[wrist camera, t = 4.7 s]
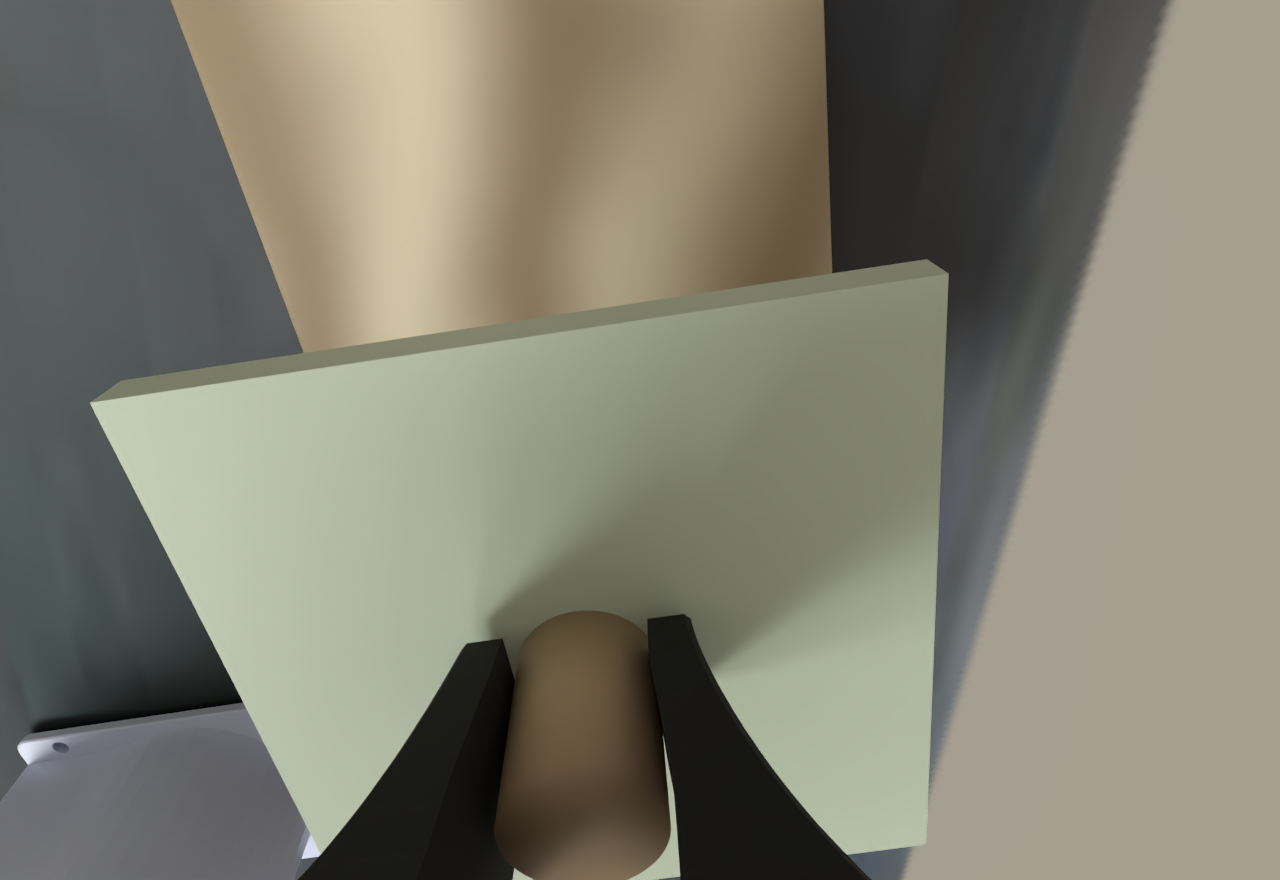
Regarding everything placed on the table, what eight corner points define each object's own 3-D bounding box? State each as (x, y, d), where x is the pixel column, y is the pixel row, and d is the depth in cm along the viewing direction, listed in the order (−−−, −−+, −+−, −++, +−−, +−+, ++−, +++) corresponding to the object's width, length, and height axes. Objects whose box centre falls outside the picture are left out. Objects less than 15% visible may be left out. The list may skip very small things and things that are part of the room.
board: (335, 410, 22) (329, 420, 22) (103, -217, 15) (86, -226, 15) (828, 333, 22) (834, 341, 21) (804, -343, 15) (812, -356, 15)
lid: (371, 856, 18) (301, 1103, 14) (142, 366, 12) (-92, 530, 8) (903, 786, 17) (995, 1017, 13) (912, 249, 12) (1076, 359, 8)
